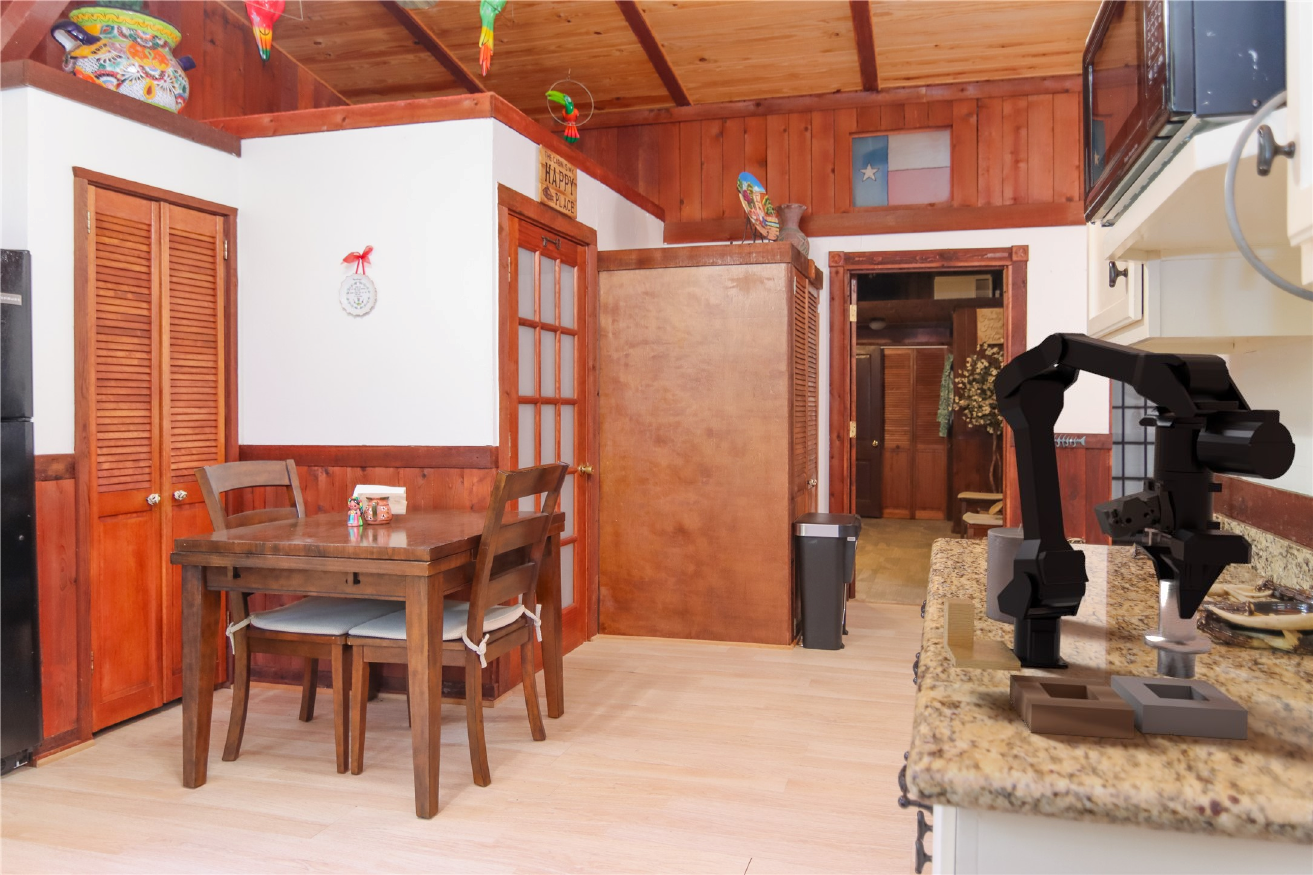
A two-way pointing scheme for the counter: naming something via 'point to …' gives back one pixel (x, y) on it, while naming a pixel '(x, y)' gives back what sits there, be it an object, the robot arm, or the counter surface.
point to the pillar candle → (1000, 567)
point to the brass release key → (972, 640)
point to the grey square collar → (1181, 707)
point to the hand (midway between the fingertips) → (1177, 614)
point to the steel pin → (1175, 637)
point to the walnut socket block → (1071, 706)
